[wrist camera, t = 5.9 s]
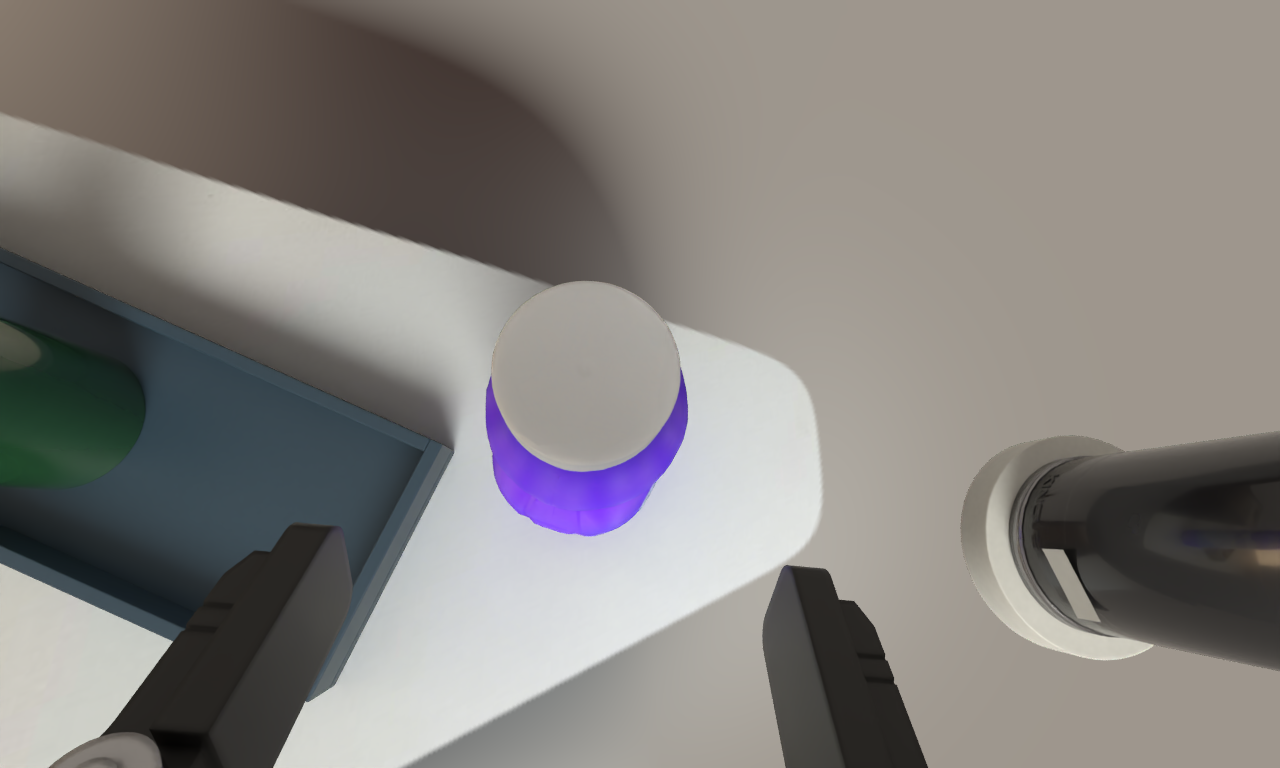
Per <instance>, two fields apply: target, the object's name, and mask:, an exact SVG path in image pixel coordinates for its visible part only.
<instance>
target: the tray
mask: <svg viewBox="0 0 1280 768" xmlns="http://www.w3.org/2000/svg"><path fill="white" fill-rule="evenodd" d="M0 316H1V317H4V318H7V319H10V320H12V321H15V322H18V323H21V324H24V325H26V326H29V327H32V328H35V329H37V330H40V331H43V332H46V333H49V334H51V335H54V336H57V337H60V338H63V339H65V340H68V341H71V342H74V343H76V344H79V345H82V346H85V347H88V348H90V349H93V350H96V351H99V352H101V353H104V354H107V355H110V356H112V357H114V358H116V359H118V360H120V361H121V362H122V363H124V364H125V365H126V366H127V367H128V368H129V369H130V370H131V371H132V372H133V373H134V374H135V376H136V377H137V378H138V380H139V382H140V384H141V386H142V389H143V392H144V397H145V404H146V412H145V419H144V424H143V427H142V430H141V433H140V435H139V438H138V440H137V441H136V443H135V445H134V446H133V448H132V449H131V451H130V452H129V453H128V455H127V456H126V457H125V458H124V459H123V460H122V461H121V462H120V463H119V464H118V465H117V466H116V467H115V468H113V469H112V470H111V471H109V472H108V473H106V474H105V475H103V476H102V477H100V478H98V479H96V480H94V481H92V482H90V483H87V484H85V485H82V486H78V487H75V488H70V489H64V490H41V489H26V488H12V487H0V563H1V564H3V565H6V566H8V567H10V568H12V569H14V570H17V571H19V572H21V573H23V574H25V575H28V576H30V577H32V578H34V579H37V580H39V581H41V582H43V583H45V584H48V585H50V586H52V587H54V588H56V589H59V590H61V591H63V592H65V593H67V594H70V595H72V596H74V597H76V598H78V599H81V600H83V601H85V602H87V603H90V604H92V605H94V606H96V607H98V608H101V609H103V610H105V611H107V612H109V613H112V614H114V615H116V616H118V617H120V618H123V619H125V620H127V621H129V622H132V623H134V624H136V625H138V626H140V627H143V628H145V629H147V630H149V631H151V632H154V633H156V634H158V635H160V636H162V637H165V638H167V639H169V640H171V641H174V640H175V639H176V637H177V636H178V635H179V633H180V632H181V631H184V630H185V628H186V624H187V623H188V621H189V620H190V619H191V617H192V616H193V614H194V613H195V612H196V610H197V609H198V608H199V607H202V606H203V603H204V602H203V601H204V600H205V598H206V597H207V596H208V594H209V593H210V592H211V590H212V589H213V588H214V586H215V585H216V584H217V582H218V581H219V580H220V578H221V577H222V575H223V574H224V573H225V572H226V571H228V570H229V569H230V568H232V567H233V566H234V565H236V564H237V563H238V562H240V561H241V560H242V559H244V558H245V557H246V556H248V555H249V554H250V553H252V552H253V551H254V550H257V551H268V552H271V550H272V549H273V547H274V546H275V544H276V543H277V541H278V540H279V539H280V537H281V536H282V534H283V533H284V531H285V530H286V529H287V527H288V526H290V525H291V524H292V523H295V522H299V523H310V524H321V525H332V526H339V527H341V528H342V530H343V533H344V538H345V544H346V549H347V555H348V560H349V566H350V572H351V577H352V584H353V590H352V598H351V603H350V607H349V611H348V613H347V616H346V619H345V621H344V623H343V625H342V627H341V629H340V631H339V633H338V635H337V637H336V639H335V641H334V643H333V645H332V647H331V649H330V652H329V654H328V656H327V658H326V660H325V662H324V664H323V666H322V668H321V670H320V672H319V674H318V676H317V678H316V680H315V682H314V684H313V686H312V688H311V690H310V693H309V695H308V697H307V699H306V702H309V701H311V700H312V699H314V698H315V697H317V696H319V695H320V694H322V693H323V692H325V691H326V690H328V689H329V688H331V687H333V686H334V685H335V683H336V681H337V679H338V677H339V676H340V674H341V672H342V670H343V668H344V666H345V664H346V662H347V660H348V658H349V656H350V654H351V652H352V650H353V648H354V646H355V644H356V642H357V641H358V639H359V637H360V635H361V633H362V631H363V629H364V627H365V625H366V623H367V621H368V619H369V617H370V615H371V613H372V611H373V609H374V607H375V605H376V604H377V602H378V600H379V598H380V596H381V594H382V592H383V590H384V588H385V586H386V584H387V582H388V580H389V578H390V576H391V574H392V572H393V570H394V569H395V567H396V565H397V563H398V561H399V559H400V557H401V555H402V553H403V551H404V549H405V547H406V545H407V543H408V541H409V539H410V537H411V535H412V534H413V532H414V530H415V528H416V526H417V524H418V522H419V520H420V518H421V516H422V514H423V512H424V510H425V508H426V506H427V504H428V502H429V500H430V499H431V497H432V495H433V493H434V491H435V489H436V487H437V485H438V483H439V481H440V479H441V477H442V475H443V473H444V471H445V469H446V467H447V465H448V463H449V462H450V460H451V458H452V456H453V454H454V451H453V450H451V449H450V448H448V447H446V446H444V445H443V444H441V443H438V442H436V441H434V440H431V439H429V438H427V437H425V436H423V435H421V434H418V433H416V432H414V431H412V430H409V429H407V428H405V427H403V426H400V425H398V424H396V423H394V422H391V421H389V420H387V419H385V418H382V417H380V416H378V415H376V414H373V413H371V412H369V411H367V410H364V409H362V408H360V407H358V406H355V405H353V404H351V403H349V402H346V401H344V400H342V399H340V398H337V397H335V396H333V395H331V394H328V393H326V392H324V391H322V390H319V389H317V388H315V387H313V386H310V385H308V384H306V383H304V382H301V381H299V380H297V379H295V378H292V377H290V376H288V375H286V374H283V373H281V372H279V371H277V370H275V369H272V368H270V367H268V366H266V365H263V364H261V363H259V362H257V361H254V360H252V359H250V358H248V357H245V356H243V355H241V354H239V353H236V352H234V351H232V350H230V349H227V348H225V347H223V346H221V345H218V344H216V343H214V342H212V341H209V340H207V339H205V338H203V337H200V336H198V335H196V334H194V333H191V332H189V331H187V330H185V329H182V328H180V327H178V326H176V325H173V324H171V323H169V322H167V321H164V320H162V319H160V318H158V317H155V316H153V315H151V314H149V313H146V312H144V311H142V310H140V309H137V308H135V307H133V306H131V305H128V304H126V303H124V302H122V301H120V300H117V299H115V298H113V297H111V296H108V295H106V294H104V293H102V292H99V291H97V290H95V289H93V288H90V287H88V286H86V285H84V284H81V283H79V282H77V281H75V280H72V279H70V278H68V277H66V276H63V275H61V274H59V273H57V272H54V271H52V270H50V269H48V268H45V267H43V266H41V265H39V264H36V263H34V262H32V261H30V260H27V259H25V258H23V257H21V256H18V255H16V254H14V253H12V252H9V251H7V250H5V249H3V248H0Z"/></svg>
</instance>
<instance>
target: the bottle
mask: <svg viewBox="0 0 1280 768" xmlns="http://www.w3.org/2000/svg"><path fill="white" fill-rule="evenodd" d="M687 421H688V404H687V393H686V387H685V383H684V378H683V374H682V370H681V367H680V358H679V353H678V349H677V346H676V343H675V340H674V338H673V336H672V333H671V331H670V330H669V328H668V326H667V324H666V323H665V322H664V320H663V319H662V318H661V316H660V315H659V314H658V313H657V312H656V311H655V309H653V308H652V307H651V306H650V305H649V304H648V303H647V302H646V301H644V300H643V299H641V298H640V297H639V296H637V295H635V294H633V293H632V292H630V291H628V290H626V289H624V288H622V287H619V286H616V285H613V284H609V283H604V282H596V281H574V282H568V283H564V284H560V285H557V286H554V287H551V288H548V289H546V290H544V291H542V292H540V293H538V294H536V295H535V296H533V297H532V298H530V299H529V300H528V301H526V302H525V303H524V304H523V305H522V306H520V307H519V308H518V309H517V310H516V311H515V313H514V314H513V315H512V316H511V318H510V319H509V320H508V321H507V323H506V324H505V326H504V328H503V329H502V331H501V333H500V335H499V338H498V340H497V342H496V345H495V349H494V352H493V358H492V367H491V377H490V380H489V384H488V387H487V391H486V428H487V433H488V439H489V442H490V447H491V450H492V452H493V456H492V457H493V469H494V476H495V479H496V482H497V484H498V487H499V489H500V491H501V493H502V494H503V496H504V497H505V499H506V500H507V502H508V503H509V504H510V505H511V506H512V507H513V508H514V509H515V510H516V511H517V512H518V513H519V514H521V515H524V516H527V517H529V518H530V519H531V520H532V521H533V522H534V523H535V524H538V525H540V526H542V527H546V528H549V529H552V530H555V531H558V532H561V533H566V534H578V535H582V536H596V535H600V534H603V533H606V532H609V531H612V530H614V529H616V528H618V527H620V526H621V525H623V524H625V523H626V522H627V521H628V520H630V519H631V518H632V517H633V516H634V515H635V514H636V513H637V512H638V511H639V510H640V509H641V508H642V506H643V505H644V503H645V502H646V500H647V498H648V497H649V495H650V493H651V491H652V489H653V487H654V485H655V483H656V481H657V480H658V479H659V477H660V476H661V475H662V474H663V473H664V472H665V471H666V469H667V468H668V466H669V465H670V464H671V462H672V460H673V458H674V457H675V455H676V453H677V451H678V449H679V448H680V445H681V443H682V441H683V439H684V435H685V431H686V426H687Z"/></svg>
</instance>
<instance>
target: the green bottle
mask: <svg viewBox="0 0 1280 768" xmlns="http://www.w3.org/2000/svg"><path fill="white" fill-rule="evenodd" d="M145 412H146V404H145V397H144V392H143V389H142V386H141V384H140V382H139V380H138V378H137V377H136V376H135V374H134V373H133V372H132V371H131V370H130V369H129V368H128V367H127V366H126V365H125V364H124V363H122V362H121V361H120V360H118V359H116V358H114V357H112V356H110V355H107V354H104V353H101V352H99V351H96V350H93V349H90V348H88V347H85V346H82V345H79V344H76V343H74V342H71V341H68V340H65V339H63V338H60V337H57V336H54V335H51V334H49V333H46V332H43V331H40V330H37V329H35V328H32V327H29V326H26V325H24V324H21V323H18V322H15V321H12V320H10V319H7V318H4V317H1V316H0V487H12V488H26V489H41V490H64V489H70V488H75V487H78V486H82V485H85V484H87V483H90V482H92V481H94V480H96V479H98V478H100V477H102V476H103V475H105V474H106V473H108V472H109V471H111V470H112V469H113V468H115V467H116V466H117V465H118V464H119V463H120V462H121V461H122V460H123V459H124V458H125V457H126V456H127V455H128V453H129V452H130V451H131V449H132V448H133V446H134V445H135V443H136V441H137V440H138V438H139V435H140V433H141V430H142V427H143V424H144V419H145Z"/></svg>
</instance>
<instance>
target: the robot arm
mask: <svg viewBox="0 0 1280 768" xmlns="http://www.w3.org/2000/svg"><path fill="white" fill-rule="evenodd" d="M1009 541H1010V548H1011V553H1012V557H1013V560H1014V563H1015V566H1016V569H1017V571H1018V573H1019V576H1020V578H1021V579H1022V581H1023V583H1024V585H1025V586H1026V588H1027V589H1028V591H1029V592H1030V594H1031V595H1032V596H1033V598H1034V599H1035V600H1036V601H1037V602H1038V603H1039V604H1040V606H1041V607H1042V608H1044V609H1045V610H1046V611H1047V612H1048V613H1049V614H1050V615H1052V616H1053V617H1054V618H1056V619H1057V620H1059V621H1060V622H1062V623H1064V624H1066V625H1068V626H1070V627H1072V628H1074V629H1077V630H1079V631H1083V632H1086V633H1091V634H1095V635H1100V636H1106V637H1115V638H1125V639H1130V640H1134V641H1139V642H1144V643H1148V644H1152V645H1156V646H1161V647H1166V648H1171V649H1176V650H1181V651H1185V652H1190V653H1195V654H1200V655H1204V656H1209V657H1214V658H1219V659H1223V660H1229V661H1233V662H1238V663H1243V664H1248V665H1252V666H1257V667H1262V668H1267V669H1272V670H1276V671H1280V431H1276V432H1268V433H1261V434H1254V435H1246V436H1239V437H1232V438H1224V439H1217V440H1210V441H1203V442H1195V443H1187V444H1180V445H1173V446H1165V447H1158V448H1151V449H1143V450H1136V451H1127V452H1120V453H1113V454H1105V455H1098V456H1078V457H1071V458H1064V459H1059V460H1055V461H1053V462H1050V463H1048V464H1046V465H1044V466H1042V467H1041V468H1039V469H1038V470H1036V471H1035V472H1034V473H1033V474H1031V475H1030V476H1029V477H1028V479H1027V480H1026V481H1025V482H1024V483H1023V485H1022V486H1021V488H1020V489H1019V491H1018V493H1017V495H1016V497H1015V500H1014V502H1013V506H1012V509H1011V514H1010V520H1009ZM352 590H353V584H352V577H351V572H350V566H349V560H348V555H347V549H346V544H345V538H344V533H343V530H342V528H341V527H339V526H332V525H321V524H310V523H299V522H295V523H292V524H291V525H290V526H288V527H287V529H286V530H285V531H284V533H283V534H282V536H281V537H280V539H279V540H278V541H277V543H276V544H275V546H274V547H273V549H272V550H271V552H268V551H257V550H254V551H253V552H252V553H250V554H249V555H248V556H246V557H245V558H244V559H242V560H241V561H240V562H238V563H237V564H236V565H234V566H233V567H232V568H230V569H229V570H228V571H226V572H225V573H224V574H223V575H222V577H221V578H220V580H219V581H218V582H217V584H216V585H215V586H214V588H213V589H212V590H211V592H210V593H209V594H208V596H207V597H206V598H205V600H204V601H203V602H204V603H203V606H202V607H199V608H198V609H197V610H196V612H195V613H194V614H193V616H192V617H191V619H190V620H189V621H188V623H187V624H186V628H185V630H184V631H181V632H180V633H179V635H178V636H177V637H176V639H175V640H174V641H173V643H172V644H171V645H170V647H169V648H168V649H167V651H166V652H165V653H164V655H163V656H162V657H161V659H160V660H159V662H158V663H157V664H156V666H155V667H154V668H153V670H152V671H151V672H150V674H149V675H148V676H147V678H146V679H145V680H144V682H143V683H142V684H141V686H140V687H139V688H138V690H137V691H136V692H135V694H134V695H133V696H132V698H131V699H130V701H129V702H128V703H127V705H126V706H125V707H124V709H123V710H122V711H121V713H120V714H119V715H118V717H117V718H116V719H115V721H114V722H113V723H112V724H111V725H110V727H109V728H108V729H107V730H106V731H105V732H104V733H103V734H102V735H101V736H100V737H99V738H96V739H93V740H91V741H88V742H86V743H84V744H82V745H80V746H78V747H77V748H75V749H73V750H72V751H70V752H68V753H67V754H65V755H64V756H63V757H61V758H60V759H59V760H57V761H56V762H54V763H53V764H52V765H51V766H50V767H49V768H273V766H274V764H275V762H276V760H277V758H278V756H279V754H280V752H281V750H282V748H283V746H284V744H285V742H286V740H287V738H288V736H289V734H290V731H291V729H292V727H293V725H294V723H295V721H296V719H297V717H298V715H299V713H300V711H301V709H302V707H303V705H304V703H305V701H306V699H307V697H308V695H309V693H310V690H311V688H312V686H313V684H314V682H315V680H316V678H317V676H318V674H319V672H320V670H321V668H322V666H323V664H324V662H325V660H326V658H327V656H328V654H329V652H330V649H331V647H332V645H333V643H334V641H335V639H336V637H337V635H338V633H339V631H340V629H341V627H342V625H343V623H344V621H345V619H346V616H347V613H348V611H349V607H350V603H351V598H352ZM763 650H764V656H765V662H766V667H767V672H768V677H769V682H770V687H771V693H772V698H773V703H774V709H775V714H776V719H777V724H778V729H779V735H780V740H781V745H782V750H783V756H784V761H785V766H786V768H928V766H927V764H926V761H925V759H924V756H923V753H922V751H921V748H920V745H919V743H918V740H917V737H916V735H915V732H914V729H913V727H912V724H911V722H910V719H909V716H908V714H907V711H906V708H905V706H904V703H903V700H902V698H901V695H900V693H899V690H898V687H897V685H895V684H894V677H893V674H892V671H891V669H890V666H889V664H888V661H886V660H885V653H884V650H883V648H882V645H881V642H880V640H879V637H878V635H877V632H876V629H875V627H874V625H873V624H872V623H871V622H870V621H869V619H868V618H867V617H866V615H865V614H864V613H863V612H862V611H861V609H860V608H859V607H858V605H857V604H856V603H855V602H854V601H846V600H839V599H838V596H837V593H836V590H835V587H834V584H833V581H832V578H831V576H830V574H829V572H828V571H827V570H826V569H821V568H810V567H800V566H789V565H786V566H784V567H783V569H782V570H781V573H780V576H779V578H778V581H777V584H776V587H775V590H774V592H773V595H772V598H771V601H770V603H769V606H768V609H767V612H766V614H765V618H764V623H763Z"/></svg>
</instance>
